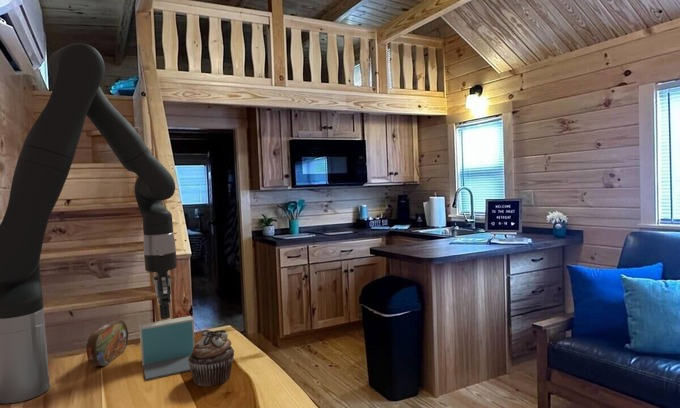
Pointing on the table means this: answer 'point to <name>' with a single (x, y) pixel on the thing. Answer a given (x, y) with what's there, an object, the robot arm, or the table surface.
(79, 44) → the robot arm
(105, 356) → the tin
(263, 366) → the table surface
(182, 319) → the tile
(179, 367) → the mat
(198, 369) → the cupcake
